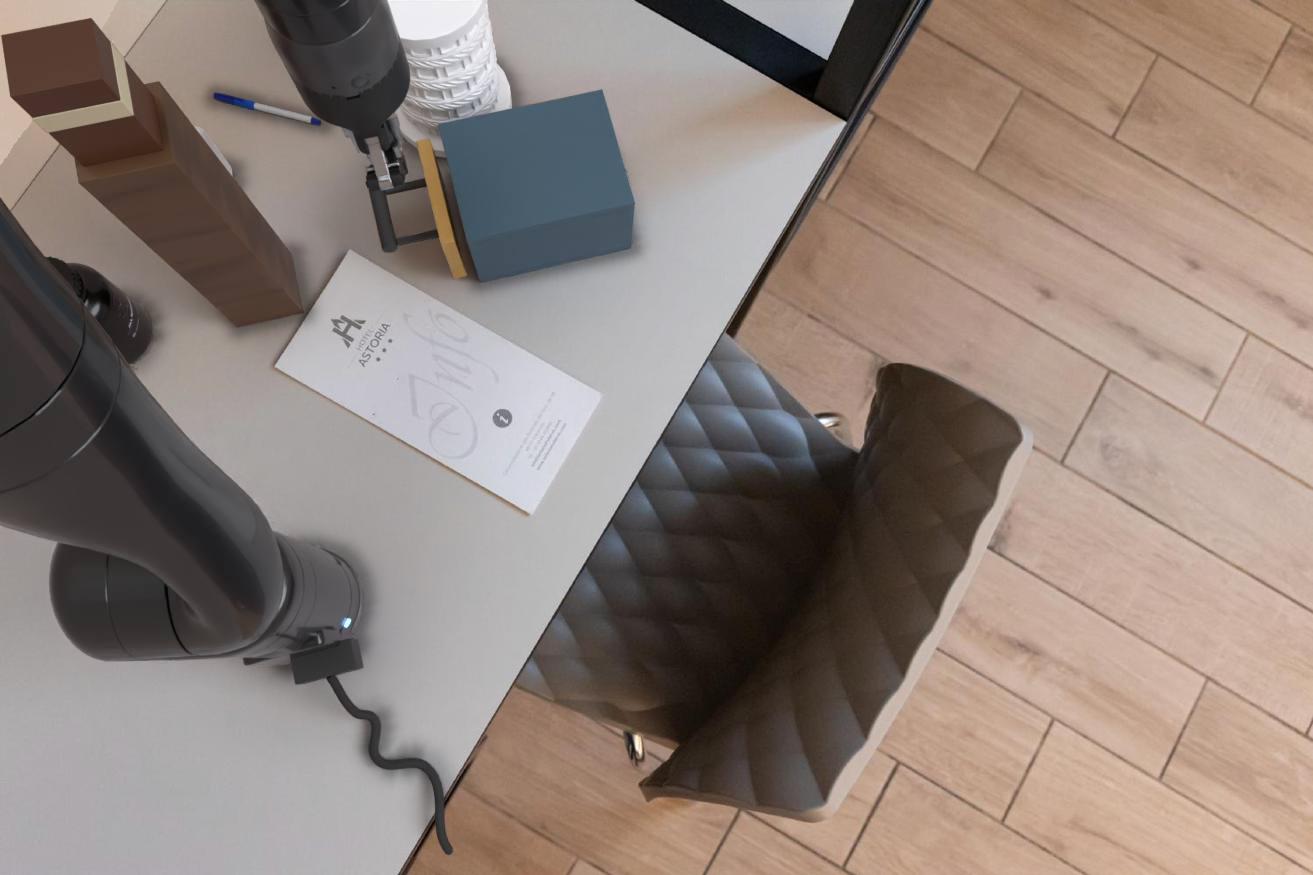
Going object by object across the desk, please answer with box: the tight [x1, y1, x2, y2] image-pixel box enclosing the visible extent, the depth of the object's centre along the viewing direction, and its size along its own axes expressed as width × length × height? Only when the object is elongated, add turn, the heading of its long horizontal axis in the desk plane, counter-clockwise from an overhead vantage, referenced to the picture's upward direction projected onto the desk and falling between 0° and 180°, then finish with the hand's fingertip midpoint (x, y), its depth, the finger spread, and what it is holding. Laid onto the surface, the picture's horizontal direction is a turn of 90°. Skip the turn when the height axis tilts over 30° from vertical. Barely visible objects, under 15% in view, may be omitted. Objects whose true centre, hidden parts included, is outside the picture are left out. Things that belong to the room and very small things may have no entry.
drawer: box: [367, 138, 468, 279], centre depth 88 cm, size 19×10×8 cm, turn 105°
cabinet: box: [438, 89, 636, 283], centre depth 89 cm, size 15×11×10 cm
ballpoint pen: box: [213, 91, 322, 125], centre depth 94 cm, size 10×1×1 cm, turn 77°
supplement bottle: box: [45, 256, 153, 365], centre depth 83 cm, size 7×7×12 cm
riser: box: [73, 80, 304, 329], centre depth 77 cm, size 6×6×28 cm
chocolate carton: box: [0, 17, 163, 167], centre depth 59 cm, size 4×5×8 cm
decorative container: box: [388, 0, 513, 159], centre depth 87 cm, size 12×12×18 cm
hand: (394, 170), depth 79 cm, fingers closed
